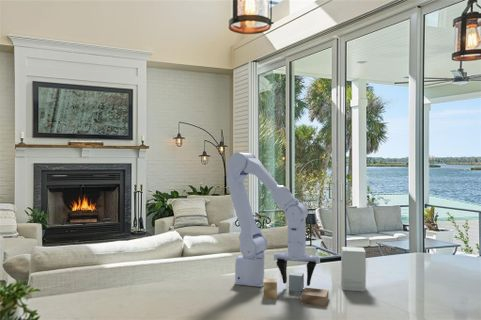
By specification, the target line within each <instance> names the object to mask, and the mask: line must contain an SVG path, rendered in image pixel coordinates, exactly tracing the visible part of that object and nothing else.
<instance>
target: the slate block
mask: <svg viewBox="0 0 481 320" xmlns="http://www.w3.org/2000/svg"><path fill="white" fill-rule="evenodd" d="M304 283H305V273H304V272H299V271H291V272H290V273H289V274H288V291H289V290H292V291H291V292H298V291H302V292H303V290H304V289H305V284H304ZM303 288H304V289H303Z"/></svg>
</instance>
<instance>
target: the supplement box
mask: <svg viewBox="0 0 481 320" xmlns="http://www.w3.org/2000/svg"><path fill="white" fill-rule="evenodd" d="M340 254H341V256H340V257H341V261H340V262H341V263H340V265H341V269H340V270H341V271H340V273H341V274H340V277H341V278H340V280H341V282H340V284H341V290H342V291H350V292H352V291H353V292H366V289H367V288H366V286H367V285H366V275H367V274H366V273H367V272H366V271H367V270H366V269H367V268H366V266H367V265H366V264H367V263H366V262H367V261H366V260H367V258H366V256H367V255H366V254H367V253H366V249H365V248H364V247H355V246H341V252H340Z"/></svg>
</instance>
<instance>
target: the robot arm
mask: <svg viewBox="0 0 481 320" xmlns="http://www.w3.org/2000/svg"><path fill="white" fill-rule="evenodd" d="M226 165H227V173H226V184H227V187H228V191H229V194H230V197H231V201H232V205H233V208H234V210H235V214H236V217H237V220H238V221H237V222H238V224H239V228H240V233H239V235H238V239H239V251H240V253H241V254H242V255H238V256H237V257H236V259H235V266H234V267H235V268H234V271H235V272H234V276H235V277H234V278H235V279H234V285H239V286H240V285H241V286H249V287H260V288H262V287H264V278H265V251H266V250H267V248H268V241H267V238H266V237H265V236H264V235H263V232H262V231H261V229H260V228H259V227H258V225H257V224H256V220H255V217H254V213H253V211H252V207H251V204H250V200H249V196H248V194H247V190H246V186H245V184H244V183H245V182H244V181H245V180H246V178H247V176H248V175H249V174H250V175H254V176H255V177H256V178H257V179H258V180H259V181H260V182H261V183H262V184H263V185H264V186H265V187H266V188H267V189H268V190H269V191H270V197H271V199H272V200H273V201H274V203H276V205H278V207H279V208H280V209H281V210H282V212H284V218H285V219H286V220H287V252H275V253H273V260H274V261H276V266H277V268H278V270H279V271H280V276H281V278H282V284H287V281H288V280H287V278H288V277H287V269H288V268H287V267H288V266H287V265H288V261H289V262H301V263H302V262H304V263H306V276H307V277H306V286H307V287H308V286H310V285H311V280H312V276H313V273H314V270H315V268H316V266H317V264H320V263H321V256H320V255H314V254H313V255H312V254H306V253H307V252H306V249H307V248H306V245H307V244H306V240H307V239H306V237H307V234H306V233H307V231H306V230H307V229H306V218H307V217H308V214H309V210H308V207H307V206H306V204H305V203H303V202H300V199H298V198H296V197H295V195H293V194H292V192H291V189H290V188H289V187H288V186H285V185H280V184H279V183H278V182H277V181H276V180H275V178H274V177H273V176H272V175H271V174H270V172H269V171H268V170H267V168H266V167H265V166H264V165H263V164H262V162H261V160H260V159H259V158H257V157H256V155H254V154H253V152H238V151H237V152H236V151H235V152H234V153H232V154H231V155H230V157H229V158H228V160H227V162H226Z"/></svg>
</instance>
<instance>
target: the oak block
mask: <svg viewBox="0 0 481 320" xmlns="http://www.w3.org/2000/svg"><path fill="white" fill-rule="evenodd" d="M263 299H264V300H278V278H265V277H264V285H263Z"/></svg>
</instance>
